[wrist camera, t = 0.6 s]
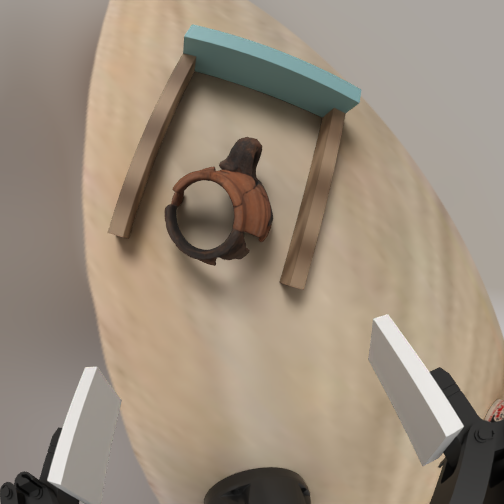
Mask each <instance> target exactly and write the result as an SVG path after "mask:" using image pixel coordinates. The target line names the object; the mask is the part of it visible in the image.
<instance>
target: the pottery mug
mask: <svg viewBox="0 0 504 504" xmlns="http://www.w3.org/2000/svg"><path fill="white" fill-rule="evenodd" d="M261 152H262V145H261V144H260V142H259V141H258V140H257V139H254V138H249V137H245V138H241V139H239V140H238V141H237V142H236V143H235V145H234V146H233V148H232V149H231V151H230V154H229V156H228V157H227V158H226V159H225V160H224V161H222V162H220V164H219V166H220V168H221V169H222V170H220V171H215V167H209V168H205V169H203V170H200V171H195V172H191V173H189V174H187V175H185V176H184V177H183V178H181V179H180V180H179V181H178V182H177V183H176V184H175V186H174V187H173V191H175V193H174V196H173V198H172V203H171V204H170V205H168V206H167V207H166V208H165V221H166V227H167V231H168V233H169V236H170V237H171V239H172V241H173V242H174V243H175V244H176V246H177V247H178V248H179V249H180V250H181V251H182V252H183V253H185V254H186V255H188V256H190V257H192V258H195V259H198V260H200V261H202V262H204V263H207V264H210V265H214V266H215V265H216V259H217V257H220V258H222V259H224V260H225V259H226V260H232V259H242V258H243V257H244V256H246V255H247V254H248V253H249V249H248V248H246V243H245V240H244V232H246V233H249V234H252V235H254V236H256V237H259V241H261V242H263V241H264V240H265V238H266V237H267V235H268V233H269V231H270V228H271V225H272V221H273V213H272V209H271V205H270V202H269V198H268V196H267V193H266V191H265V189H264V187H263V185H262V183H261V182H260V181H259V180H258V179H257V178H256V167H257V164H258V161H259V159H260V156H261ZM201 180H208V181H213V182H216V183H218V184H219V185H220V186H222V187H223V188H224V189H225V190H226V192H227V193H228V195H229V196H230V198H231V200H232V203H233V207H234V223H233V230H232V232H231V233H230V235H229V237H228V238H227V239H226V241H225V242H224V243H223V244H221V245H220V246H218V247H216V248H214V249H210V250H202V249H198V248H196V247H194V246H192V245H191V244H189V243H188V242H187V241H186V239H185V238H184V237H183V235H182V234H181V232H180V230H179V227H178V224H177V218H176V210H177V207H178V206H179V205H181V203H182V201H183V196H184V190H185V189H186V188H187V187H188V186H190V185H191V184H193V183H195V182H197V181H201Z"/></svg>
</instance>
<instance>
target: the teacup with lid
mask: <svg viewBox="0 0 504 504" xmlns="http://www.w3.org/2000/svg"><path fill="white" fill-rule="evenodd" d="M484 420H486V421H489V422H497V421H500V420H504V400H501V399H498V400H496V401H495V402H494V403H493V404H492V406H491V407H490V409H489V411H488V412H487V414H486V416H485V419H484Z"/></svg>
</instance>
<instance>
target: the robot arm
mask: <svg viewBox="0 0 504 504" xmlns="http://www.w3.org/2000/svg"><path fill="white" fill-rule="evenodd" d="M368 360H369V362H370V363H371V365H372V367H373V369H374V371H375V373H376V374H377V376H378V378H379V380H380V382H381V384H382V386H383V388H384V390H385V391H386V393H387V395H388V397H389V399H390V401H391V403H392V405H393V407H394V409H395V411H396V413H397V415H398V417H399V419H400V421H401V423H402V425H403V427H404V429H405V431H406V433H407V435H408V437H409V439H410V441H411V443H412V445H413V447H414V449H415V451H416V453H417V456H418V458H419V460H420V462H421V464H422V466H424V465H426V464H428V463H430V462H432V461H434V460H436V459H438V458H439V457H440V456H441V455H442V453H444V455H445V458H444V460H443V461H442V462H441V463H440V465H439V466H438V467H439V468H440V467H441V466H442V465H443V467H442V470H441V473H440V476H439V479H438V482H437V485H436V488H435V491H434V494H433V496H432V499H431V502H430V504H504V420H500V421H497V422H489V421H486V420H482V419H481V418H480V417H479V416H478V415H477V414H476V412H475V410H474V409H473V407H472V406H471V404H470V403H469V401H468V400H467V398H466V397H465V395H464V394H463V393H462V392H461V391H460V388H459V387H458V385H457V384H456V382H455V381H454V380H453V378H452V377H451V375H450V374H449V373H448V372H446V371H445V370H443V369H442V368H440V367H439V368H437V369H435V370H433V371H430V372H429V371H428V370H427V368H426V367H425V365H424V364H423V362H422V361H421V359H420V358H419V357H418V355H417V354H416V352H415V351H414V349H413V348H412V347H411V345H410V344H409V342H408V341H407V340H406V338H405V337H404V336H403V334H402V333H401V331H400V330H399V329H398V327H397V326H396V325H395V323H394V322H393V321H392V319H391V318H390V317H389V315H388V314H387V315H384V316H380V317H377V318H374V319H373V325H372V334H371V343H370V350H369V358H368ZM121 402H122V400H121V399H120V398H119V396H118V395H117V394H116V392H115V391H114V390H113V388H112V387H111V386H110V384H109V383H108V382H107V380H106V379H105V377H104V376H103V374H102V373H101V371H100V370H99V368H98V367H86V368H85V370H84V372H83V374H82V377H81V379H80V382H79V384H78V387H77V389H76V392H75V395H74V398H73V400H72V403H71V405H70V408H69V411H68V414H67V417H66V419H65V423H64V425H63V428H58V429H57V431H56V432H55V433H54V435H53V436H52V439H51V443H50V446H49V449H48V453H47V456H46V459H45V462H44V465H43V469H42V473H41V476H40V479H39V480H38V479H37V478H35V477H34V476H32V475H31V474H30V473H28V472H21V473H20V474H18V475H17V477H16V479H15V483H14V485H13V484H12V483H10V482H6V483H4V484H3V485H2V487H1V489H0V500H1V504H79V501H81V502H83V503H85V504H101V502H102V496H103V489H104V483H105V477H106V471H107V466H108V460H109V455H110V450H111V445H112V441H113V436H114V431H115V427H116V422H117V418H118V414H119V410H120V406H121ZM204 504H311V500H310V492H309V489H308V487H307V485H306V484H305V482H304V480H303V479H302V478H301V476H299V475H298V474H297V473H295V472H293V471H291V470H287V469H283V468H258V469H252V470H247V471H243V472H240V473H237V474H234V475H231V476H229V477H227V478H225V479H223V480H221V481H220V482H218V483H217V484H215V485H214V486H213V487H212V488H211V489H210V490H209V491H208V493H207V494H206V496H205V499H204Z"/></svg>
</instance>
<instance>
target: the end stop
mask: <svg viewBox="0 0 504 504" xmlns="http://www.w3.org/2000/svg"><path fill="white" fill-rule="evenodd" d="M183 53H184V54H188V55H192V56H196V63H195V71H196V72H200V73H203V74H207V75H210V76H214V77H217V78H221V79H224V80H227V81H230V82H233V83H236V84H239V85H242V86H245V87H248V88H251V89H254V90H257V91H259V92H262V93H265V94H268V95H270V96H273V97H275V98H278V99H280V100H283V101H285V102H288V103H290V104H293V105H295V106H298V107H300V108H302V109H304V110H307V111H309V112H311V113H314V114H316V115H318V116H320V117H322V118H323V117H324V116H325V115H326V114H327V113H329V112H330V111H331V110H332V109H333V108H336V109H338V110H340V111H342V112H344V113H347V112H348V111H349V110H351V109H352V108H353V107H355V106H356V105H357V104H359V102H360V96H361V89H359V88H357V87H355V86H354V85H352V84H350V83H348V82H347V81H345V80H343V79H341V78H339V77H337V76H335V75H333V74H331V73H329V72H327V71H325V70H323V69H321V68H318V67H316V66H314V65H312V64H310V63H307V62H305V61H303V60H301V59H298V58H296V57H293V56H291V55H289V54H286V53H284V52H281V51H278V50H276V49H273V48H270V47H268V46H265V45H262V44H259V43H256V42H253V41H250V40H247V39H244V38H241V37H238V36H235V35H231V34H228V33H224V32H221V31H217V30H213V29H209V28H205V27H201V26H197V25H191V27H190V28H189V30H188V31H187V33H186V34H185V36H184V48H183Z"/></svg>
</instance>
